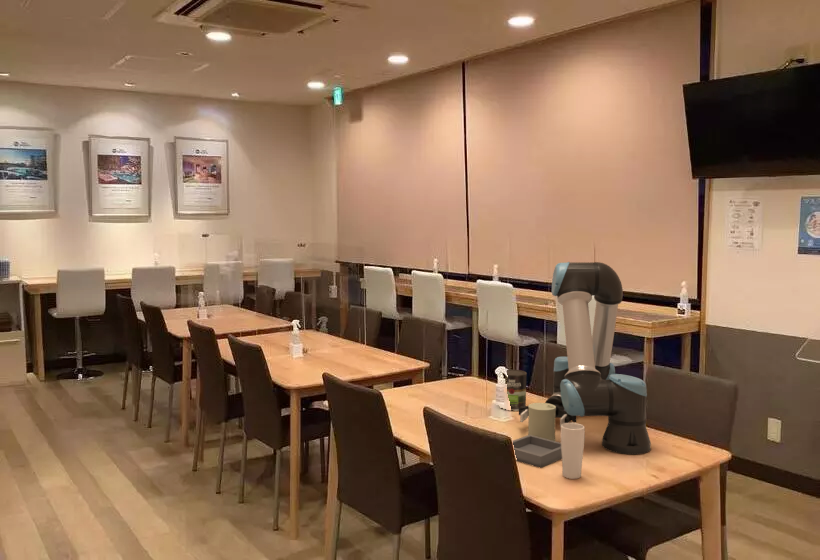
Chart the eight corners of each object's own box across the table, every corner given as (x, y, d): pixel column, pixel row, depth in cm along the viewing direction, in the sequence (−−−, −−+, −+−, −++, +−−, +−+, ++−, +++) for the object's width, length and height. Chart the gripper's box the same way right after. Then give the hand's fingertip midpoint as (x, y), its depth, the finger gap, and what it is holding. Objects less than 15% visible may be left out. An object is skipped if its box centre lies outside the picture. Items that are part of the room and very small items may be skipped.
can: (555, 444, 242) (556, 409, 241) (527, 443, 244) (527, 407, 243) (555, 436, 251) (556, 401, 250) (528, 434, 253) (528, 400, 252)
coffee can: (525, 412, 281) (525, 375, 280) (498, 410, 283) (498, 374, 282) (527, 405, 291) (527, 370, 290) (501, 403, 293) (501, 368, 292)
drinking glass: (580, 472, 217) (581, 422, 216) (586, 480, 211) (587, 429, 209) (557, 472, 217) (558, 422, 216) (562, 480, 210) (563, 429, 209)
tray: (569, 455, 232) (569, 445, 231) (540, 467, 221) (540, 456, 221) (529, 444, 242) (529, 434, 242) (500, 455, 232) (500, 445, 231)
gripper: (591, 419, 262) (577, 436, 243) (523, 411, 272) (505, 426, 253) (591, 398, 261) (578, 414, 242) (523, 391, 272) (505, 405, 253)
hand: (541, 420), depth 248 cm, fingers open, 13 cm apart
